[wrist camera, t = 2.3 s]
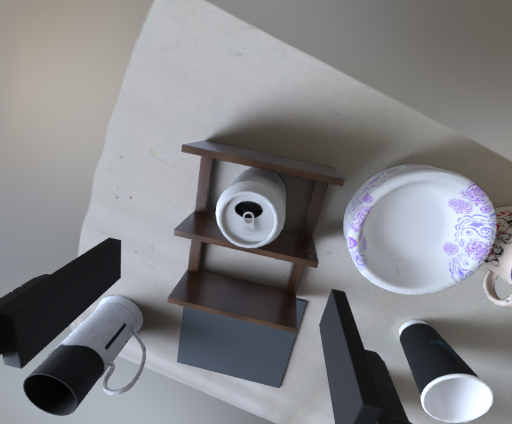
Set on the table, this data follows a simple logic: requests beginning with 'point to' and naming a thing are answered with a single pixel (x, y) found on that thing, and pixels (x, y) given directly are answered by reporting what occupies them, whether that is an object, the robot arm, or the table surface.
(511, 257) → the teacup with lid
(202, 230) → the rack
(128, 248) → the table surface
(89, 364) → the glass holder
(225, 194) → the can
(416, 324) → the dixie cup
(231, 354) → the mat
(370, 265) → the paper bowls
